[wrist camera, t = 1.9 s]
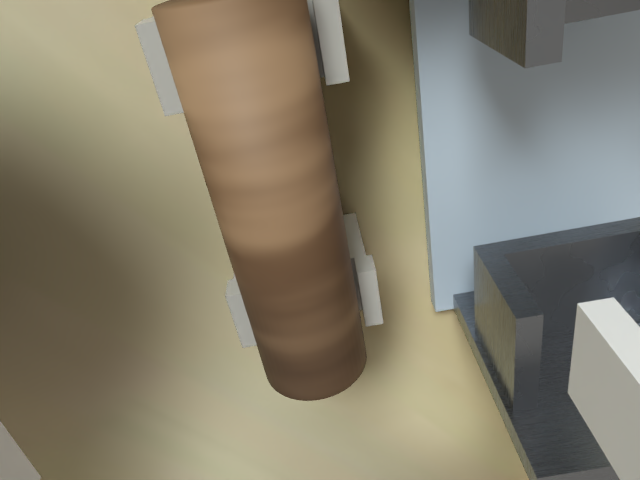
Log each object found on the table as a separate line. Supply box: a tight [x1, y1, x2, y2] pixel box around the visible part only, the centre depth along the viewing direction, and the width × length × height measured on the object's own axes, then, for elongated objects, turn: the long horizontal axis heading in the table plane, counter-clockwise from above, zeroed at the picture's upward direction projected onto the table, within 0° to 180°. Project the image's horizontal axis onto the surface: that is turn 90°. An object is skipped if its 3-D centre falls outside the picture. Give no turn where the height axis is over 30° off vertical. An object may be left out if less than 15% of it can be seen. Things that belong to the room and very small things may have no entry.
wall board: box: [409, 0, 640, 312], centre depth 24 cm, size 11×21×1 cm, turn 10°
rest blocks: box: [135, 0, 383, 348], centre depth 22 cm, size 6×14×5 cm, turn 10°
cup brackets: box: [453, 0, 640, 480], centre depth 19 cm, size 9×21×12 cm, turn 10°
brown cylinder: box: [151, 0, 367, 401], centre depth 19 cm, size 15×4×4 cm, turn 10°
